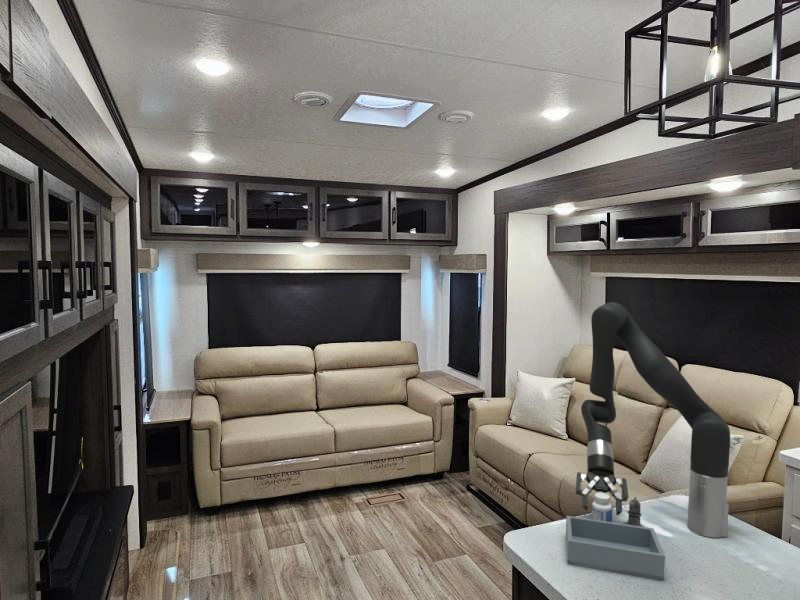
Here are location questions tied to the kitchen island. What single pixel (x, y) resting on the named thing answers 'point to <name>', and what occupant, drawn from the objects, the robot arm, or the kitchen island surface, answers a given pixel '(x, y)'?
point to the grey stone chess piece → (634, 513)
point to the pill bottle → (602, 508)
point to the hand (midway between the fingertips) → (602, 511)
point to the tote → (614, 547)
